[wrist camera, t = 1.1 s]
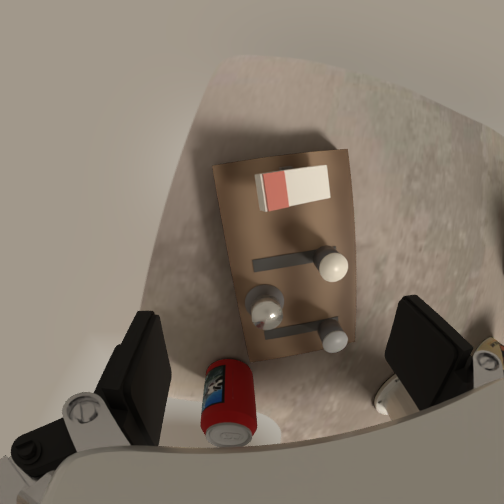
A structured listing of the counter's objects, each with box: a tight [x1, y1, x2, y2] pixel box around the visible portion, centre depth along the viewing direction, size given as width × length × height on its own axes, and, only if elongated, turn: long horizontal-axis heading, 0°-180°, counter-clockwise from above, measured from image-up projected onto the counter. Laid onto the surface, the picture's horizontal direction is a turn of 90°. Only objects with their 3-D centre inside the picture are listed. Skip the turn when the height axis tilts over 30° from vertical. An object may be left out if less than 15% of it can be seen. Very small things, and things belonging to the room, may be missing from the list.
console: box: [212, 149, 356, 362], centre depth 31 cm, size 14×24×5 cm, turn 9°
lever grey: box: [317, 319, 348, 353], centre depth 31 cm, size 3×3×4 cm
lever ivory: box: [313, 245, 348, 282], centre depth 28 cm, size 3×3×4 cm
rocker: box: [255, 165, 330, 212], centre depth 25 cm, size 7×3×1 cm, turn 98°
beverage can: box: [201, 359, 257, 447], centre depth 33 cm, size 7×7×12 cm
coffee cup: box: [474, 337, 504, 370], centre depth 37 cm, size 9×9×12 cm
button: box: [251, 295, 283, 330], centre depth 29 cm, size 3×3×2 cm
